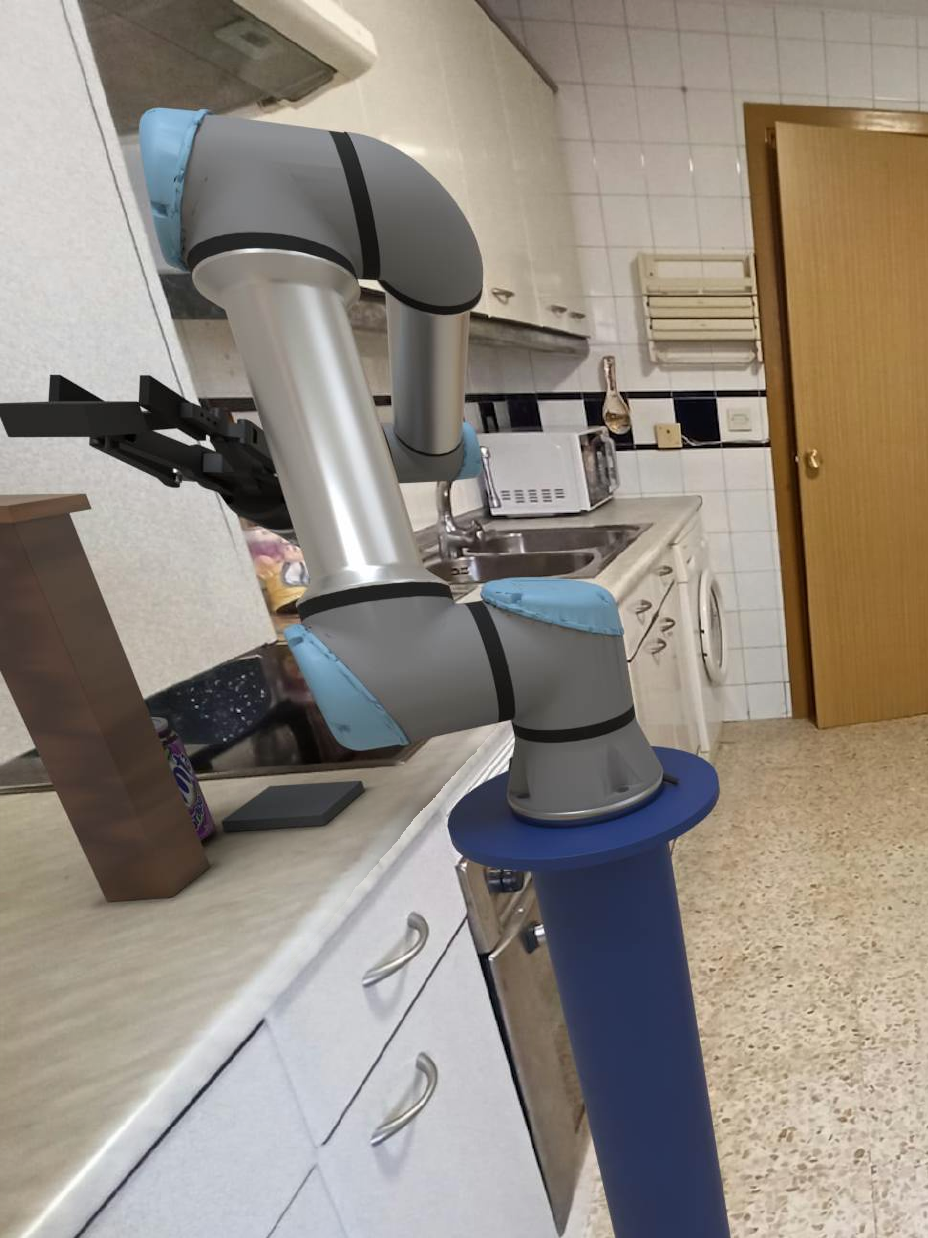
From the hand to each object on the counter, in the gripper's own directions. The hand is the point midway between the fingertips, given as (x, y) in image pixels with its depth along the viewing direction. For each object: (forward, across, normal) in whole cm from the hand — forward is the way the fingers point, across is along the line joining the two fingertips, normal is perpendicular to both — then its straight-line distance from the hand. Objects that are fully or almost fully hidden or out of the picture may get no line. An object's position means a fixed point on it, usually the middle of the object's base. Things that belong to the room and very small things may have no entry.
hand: (100, 390), depth 72 cm
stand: (-9, 0, -42) cm, 43 cm away
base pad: (-20, -4, -35) cm, 41 cm away
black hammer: (-3, 0, -2) cm, 4 cm away
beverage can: (-15, +4, -38) cm, 41 cm away
